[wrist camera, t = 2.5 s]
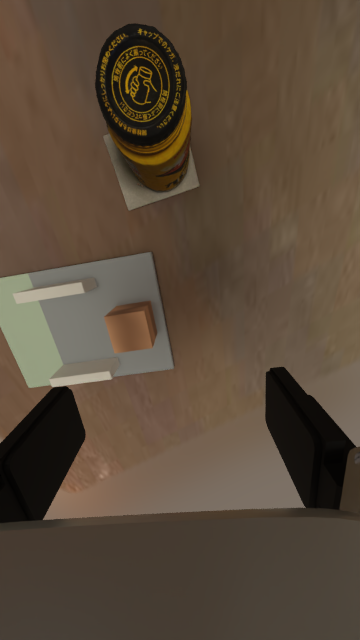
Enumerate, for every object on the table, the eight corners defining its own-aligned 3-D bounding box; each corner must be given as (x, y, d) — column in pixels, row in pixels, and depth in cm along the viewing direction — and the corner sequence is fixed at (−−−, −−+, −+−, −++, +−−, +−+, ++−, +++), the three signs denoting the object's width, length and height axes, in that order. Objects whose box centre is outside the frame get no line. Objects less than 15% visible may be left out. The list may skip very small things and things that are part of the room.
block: (150, 300, 27) (144, 310, 23) (157, 332, 29) (152, 348, 24) (116, 305, 28) (103, 316, 23) (124, 337, 29) (114, 353, 25)
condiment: (199, 186, 24) (212, 133, 13) (128, 211, 25) (82, 182, 14) (180, 107, 22) (176, -44, 10) (103, 137, 23) (23, 30, 11)
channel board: (151, 251, 26) (145, 253, 22) (174, 364, 31) (172, 383, 27) (-14, 280, 28) (-50, 286, 24) (33, 383, 33) (11, 404, 29)
